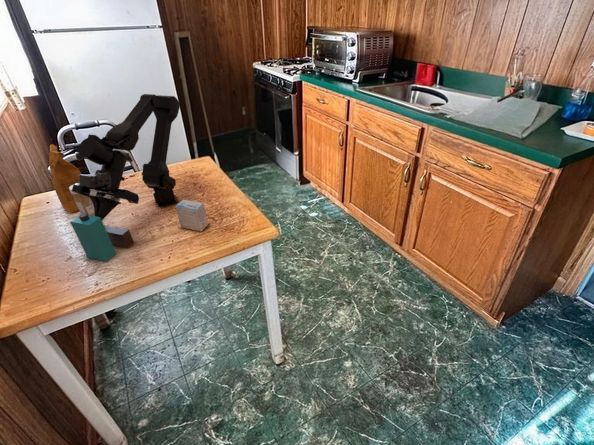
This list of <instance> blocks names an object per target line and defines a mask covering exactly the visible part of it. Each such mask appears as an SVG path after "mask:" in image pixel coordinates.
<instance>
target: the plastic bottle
mask: <svg viewBox="0 0 594 445" xmlns="http://www.w3.org/2000/svg"><path fill="white" fill-rule="evenodd" d="M69 223H70V225H71V227H72V229H73V231H74V233H75V235H76V238H77V239H78V242H79V243H80V245H81V247H82V249H83V251H84V253H85V255H86V257H87V259H90V260H96V261H101V262H108V261H109V260H110V259H111V258H112V257H114V256H115V255H116V254H117V253H116V250H115V248H114V245H112V243H111V241H110V238H109V236H108V234H107V231H106V229H105V227H104V225H105V224H104V222H103V220H101V217H96V216H90V215H88V213H82V214H81V213H80V214H79V215H78V216H76V217H75V218H73V219H72V220H70V221H69Z"/></svg>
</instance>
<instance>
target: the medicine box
mask: <svg viewBox="0 0 594 445" xmlns="http://www.w3.org/2000/svg"><path fill="white" fill-rule="evenodd" d="M175 210H176V213H177V214H176V215H177V217H178V220H179V224H180V228H182V229H187V230H192V231H197V232H203V231H204V229H205V228H206V227H207V226H208V225H209V222H208V216H207V213H206V208H205V204H204V203H203V202H201V201H200V202H199V201H195V200H189V199H188V200H187V199H182V200H181V201H179V202H177V204H176V205H175Z"/></svg>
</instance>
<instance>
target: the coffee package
mask: <svg viewBox="0 0 594 445" xmlns="http://www.w3.org/2000/svg"><path fill="white" fill-rule="evenodd" d="M64 156H65V154H64V153H63V152H61V151H58V146H57V145H54V144H53V143H52V144H50V145H49V161H48V162H49V164H48V165H49V170H50V175H51V176H50V177H51V183H52V185H53V188H54V191H55V194H56V196H57V199H58V200H59V202H60V204H61V206H62V207H63V208H64V209H65V211H67V212H68V213H74V212H77V211H79V208H78V206H77V204H76V202H75V199H74V197H73V195H72V194H71V192H70V190H69V187H70V186H72V185H74V184H76V183H79V175H80V174H82V172H81V171H80V169H79V168H78V167H76V166H75V165H74V164H72V163H71V162H69V161H68V160H66V159H64V158H63V157H64ZM91 201H92V200H91ZM92 203H93V202H92Z"/></svg>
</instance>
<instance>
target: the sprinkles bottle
mask: <svg viewBox="0 0 594 445" xmlns="http://www.w3.org/2000/svg"><path fill="white" fill-rule="evenodd" d="M72 188H73V185H72V186H70V187H69V190H70V192H71V194H72V195H73V197H74V199H75V202H76V204H77V206H78V208H79V210H78V211H79V213H80V214H82V213H88V215H90V216H95V213H94V206H93V203H92V201H91V199H90V198H89V197H87V196H84V195H81V194H78V193H75V192H72Z"/></svg>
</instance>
